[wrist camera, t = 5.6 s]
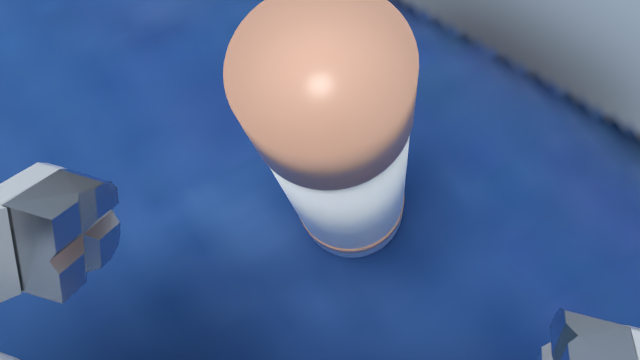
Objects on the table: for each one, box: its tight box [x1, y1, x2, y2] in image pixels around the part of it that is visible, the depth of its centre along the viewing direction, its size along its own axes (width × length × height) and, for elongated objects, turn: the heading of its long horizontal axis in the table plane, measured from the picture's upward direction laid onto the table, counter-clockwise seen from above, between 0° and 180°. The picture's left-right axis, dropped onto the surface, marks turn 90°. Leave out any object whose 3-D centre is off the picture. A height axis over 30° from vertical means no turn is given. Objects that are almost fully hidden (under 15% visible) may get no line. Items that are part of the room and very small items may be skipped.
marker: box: [223, 0, 419, 258], centre depth 15 cm, size 4×4×10 cm
